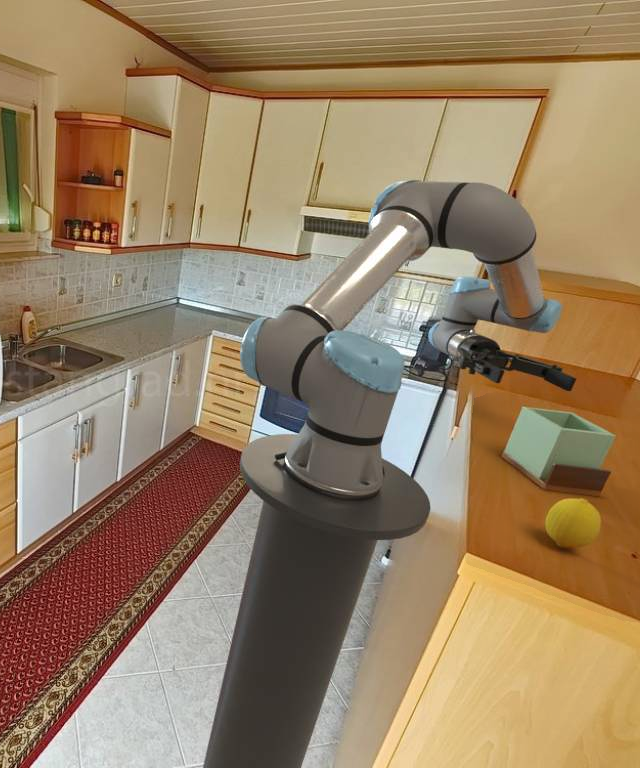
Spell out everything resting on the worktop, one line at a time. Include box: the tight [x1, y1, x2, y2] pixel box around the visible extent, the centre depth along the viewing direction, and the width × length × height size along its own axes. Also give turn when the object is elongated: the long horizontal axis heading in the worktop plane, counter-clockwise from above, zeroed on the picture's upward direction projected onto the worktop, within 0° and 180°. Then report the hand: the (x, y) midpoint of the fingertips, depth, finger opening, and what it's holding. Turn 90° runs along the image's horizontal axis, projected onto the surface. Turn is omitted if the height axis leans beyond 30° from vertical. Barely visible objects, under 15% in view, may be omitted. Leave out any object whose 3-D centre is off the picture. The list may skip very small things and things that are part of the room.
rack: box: [501, 451, 612, 497], centre depth 90 cm, size 12×9×5 cm
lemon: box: [544, 497, 602, 549], centre depth 68 cm, size 6×6×8 cm
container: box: [503, 406, 617, 479], centre depth 89 cm, size 10×9×10 cm
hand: (536, 380), depth 96 cm, fingers open, 13 cm apart
